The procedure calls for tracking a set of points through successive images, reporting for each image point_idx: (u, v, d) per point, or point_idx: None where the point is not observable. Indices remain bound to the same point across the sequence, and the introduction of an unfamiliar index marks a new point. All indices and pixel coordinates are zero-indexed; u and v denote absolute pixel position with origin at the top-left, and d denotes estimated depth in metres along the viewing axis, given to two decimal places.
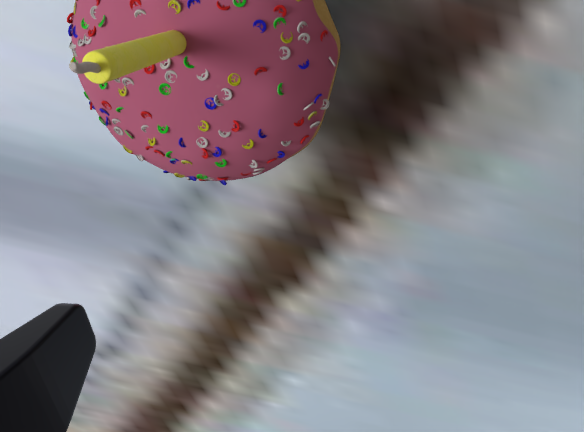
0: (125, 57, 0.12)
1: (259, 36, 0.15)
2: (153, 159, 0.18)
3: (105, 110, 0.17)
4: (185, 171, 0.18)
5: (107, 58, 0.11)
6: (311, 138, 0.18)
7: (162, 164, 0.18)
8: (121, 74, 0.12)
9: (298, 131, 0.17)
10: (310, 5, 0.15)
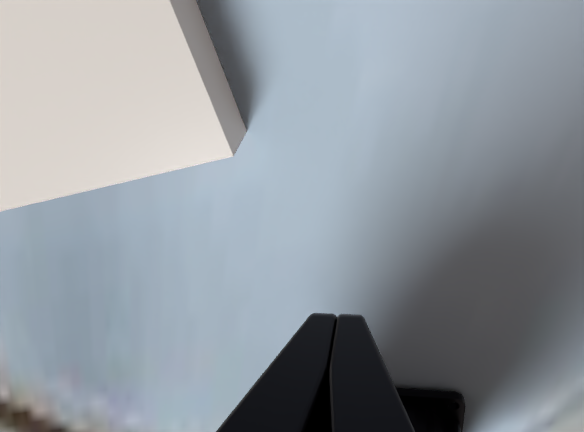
0: None
1: None
2: None
3: None
4: None
5: None
6: None
7: None
8: None
9: None
10: None
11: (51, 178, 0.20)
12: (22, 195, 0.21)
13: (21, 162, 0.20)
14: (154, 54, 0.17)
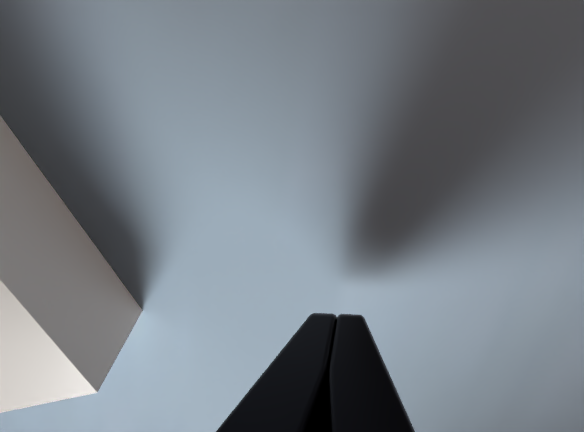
0: None
1: None
2: None
3: None
4: None
5: None
6: None
7: None
8: None
9: None
10: None
11: None
12: None
13: None
14: None
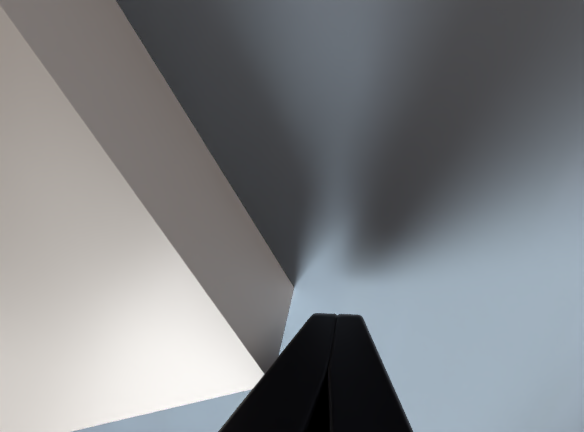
0: None
1: None
2: None
3: None
4: None
5: None
6: None
7: None
8: None
9: None
10: None
11: None
12: None
13: None
14: (47, 201, 0.07)
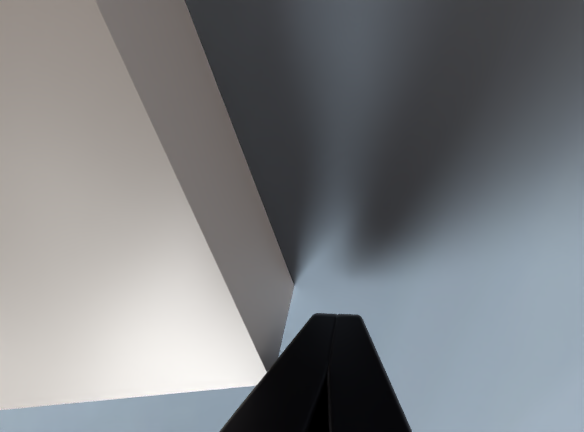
0: None
1: None
2: None
3: None
4: None
5: None
6: None
7: None
8: None
9: None
10: None
11: None
12: None
13: None
14: (79, 172, 0.07)
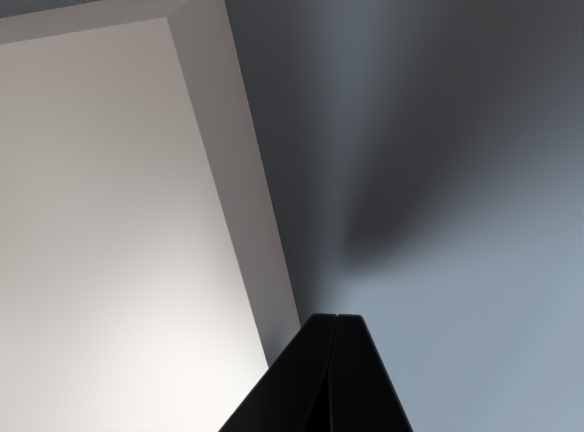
0: None
1: None
2: None
3: None
4: None
5: None
6: None
7: None
8: None
9: None
10: None
11: None
12: None
13: None
14: (154, 264, 0.07)
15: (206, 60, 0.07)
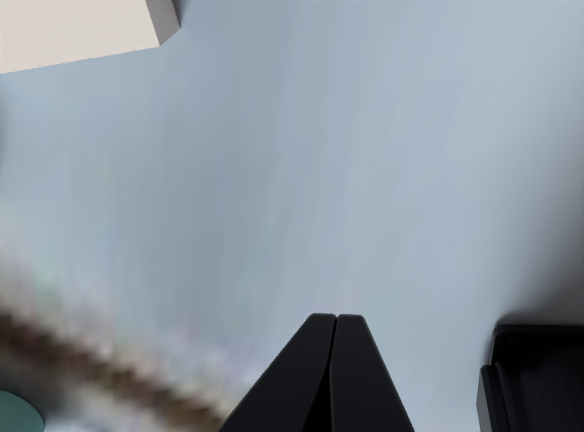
0: None
1: None
2: None
3: None
4: None
5: None
6: None
7: None
8: None
9: None
10: None
11: None
12: None
13: None
14: None
15: None
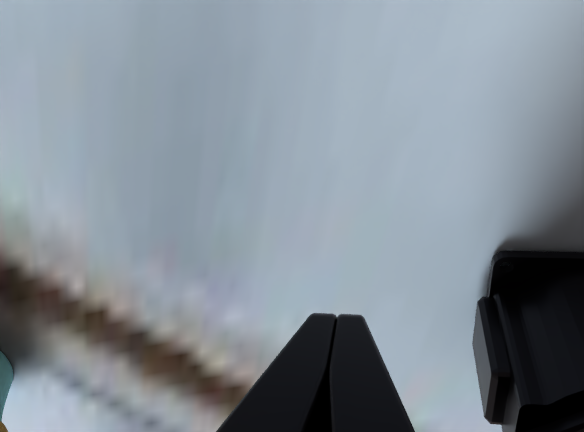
0: None
1: None
2: None
3: None
4: None
5: None
6: None
7: None
8: None
9: None
10: None
11: None
12: None
13: None
14: None
15: None
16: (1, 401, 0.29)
